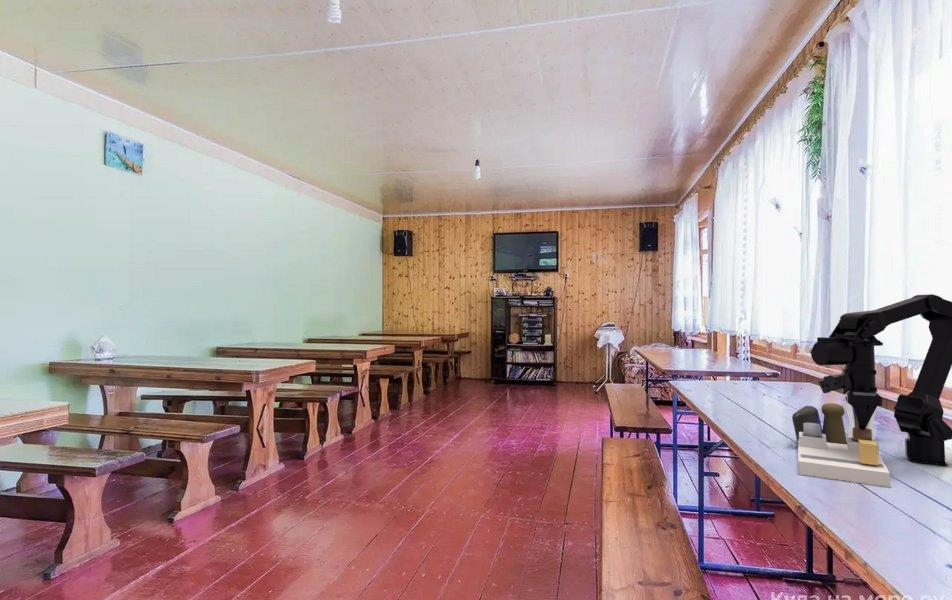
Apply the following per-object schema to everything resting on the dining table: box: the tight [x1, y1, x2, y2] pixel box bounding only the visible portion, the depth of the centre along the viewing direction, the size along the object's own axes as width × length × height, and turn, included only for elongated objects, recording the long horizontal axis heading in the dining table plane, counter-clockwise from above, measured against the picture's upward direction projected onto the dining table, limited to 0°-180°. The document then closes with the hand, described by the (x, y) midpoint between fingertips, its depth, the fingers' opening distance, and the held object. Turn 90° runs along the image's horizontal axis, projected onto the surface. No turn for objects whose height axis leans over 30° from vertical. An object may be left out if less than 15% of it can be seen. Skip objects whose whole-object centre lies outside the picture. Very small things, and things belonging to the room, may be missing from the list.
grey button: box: [803, 423, 822, 438], centre depth 124 cm, size 4×4×3 cm
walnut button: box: [853, 427, 872, 442], centre depth 118 cm, size 4×4×3 cm
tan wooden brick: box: [858, 439, 878, 465], centre depth 108 cm, size 3×4×4 cm
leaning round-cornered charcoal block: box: [791, 405, 823, 443], centre depth 135 cm, size 16×5×9 cm, turn 135°
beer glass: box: [844, 393, 877, 440], centre depth 140 cm, size 7×7×15 cm
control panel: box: [797, 432, 891, 488], centre depth 116 cm, size 16×22×6 cm
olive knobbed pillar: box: [821, 402, 847, 445], centre depth 136 cm, size 6×6×11 cm
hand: (862, 429), depth 118 cm, fingers closed, pressing on walnut button
